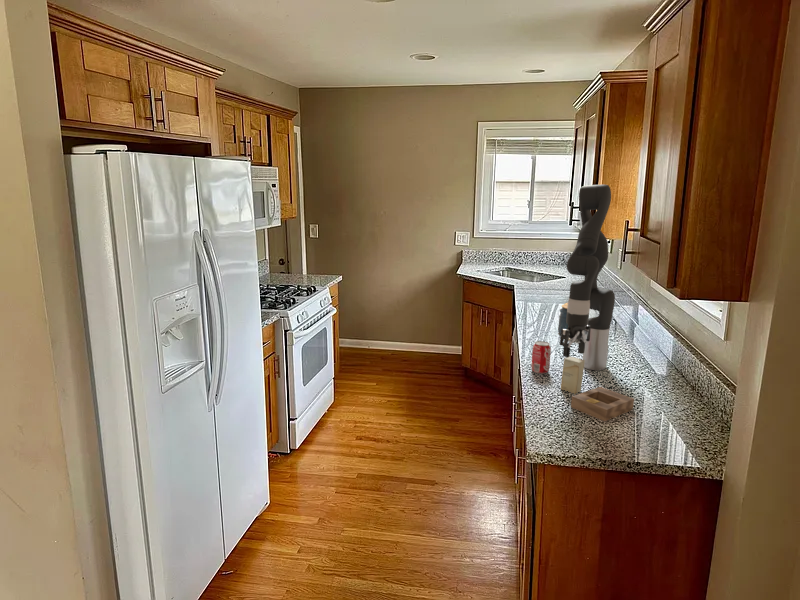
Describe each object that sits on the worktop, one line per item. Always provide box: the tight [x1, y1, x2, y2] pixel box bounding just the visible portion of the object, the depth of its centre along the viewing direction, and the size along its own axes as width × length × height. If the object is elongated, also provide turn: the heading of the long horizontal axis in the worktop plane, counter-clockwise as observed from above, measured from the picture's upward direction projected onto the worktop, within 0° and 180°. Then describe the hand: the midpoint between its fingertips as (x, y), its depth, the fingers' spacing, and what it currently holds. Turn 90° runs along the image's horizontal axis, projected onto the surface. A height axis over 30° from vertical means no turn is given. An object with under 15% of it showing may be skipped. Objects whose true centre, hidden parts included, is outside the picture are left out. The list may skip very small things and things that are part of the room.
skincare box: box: [560, 355, 585, 395], centre depth 195 cm, size 6×4×12 cm
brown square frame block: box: [570, 386, 635, 422], centre depth 180 cm, size 16×13×4 cm
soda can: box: [531, 340, 552, 375], centre depth 214 cm, size 7×7×12 cm
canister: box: [557, 302, 568, 335], centre depth 270 cm, size 13×13×18 cm
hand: (573, 355), depth 193 cm, fingers open, 8 cm apart
